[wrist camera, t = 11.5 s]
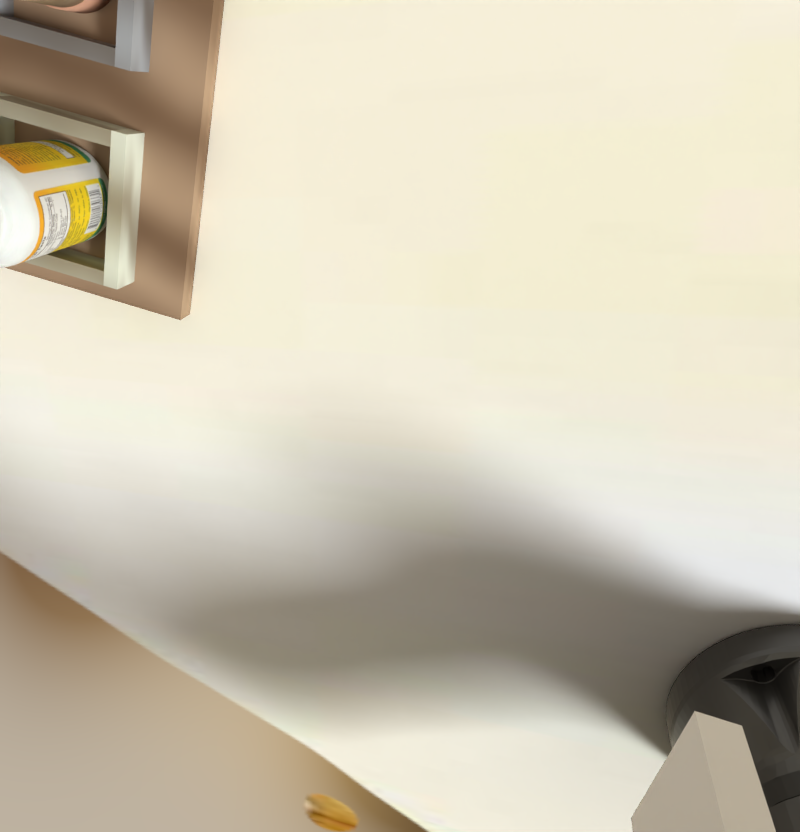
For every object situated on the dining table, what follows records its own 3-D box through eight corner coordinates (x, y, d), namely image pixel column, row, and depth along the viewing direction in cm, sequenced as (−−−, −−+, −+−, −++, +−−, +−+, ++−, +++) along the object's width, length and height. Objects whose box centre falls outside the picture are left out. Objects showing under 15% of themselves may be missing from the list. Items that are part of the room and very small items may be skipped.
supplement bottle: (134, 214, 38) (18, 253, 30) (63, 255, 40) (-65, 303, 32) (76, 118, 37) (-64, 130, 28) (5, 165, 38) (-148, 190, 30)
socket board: (189, 314, 41) (165, 329, 39) (-29, 249, 42) (-68, 259, 40) (239, -139, 32) (211, -161, 29) (-46, -212, 33) (-98, -240, 30)
